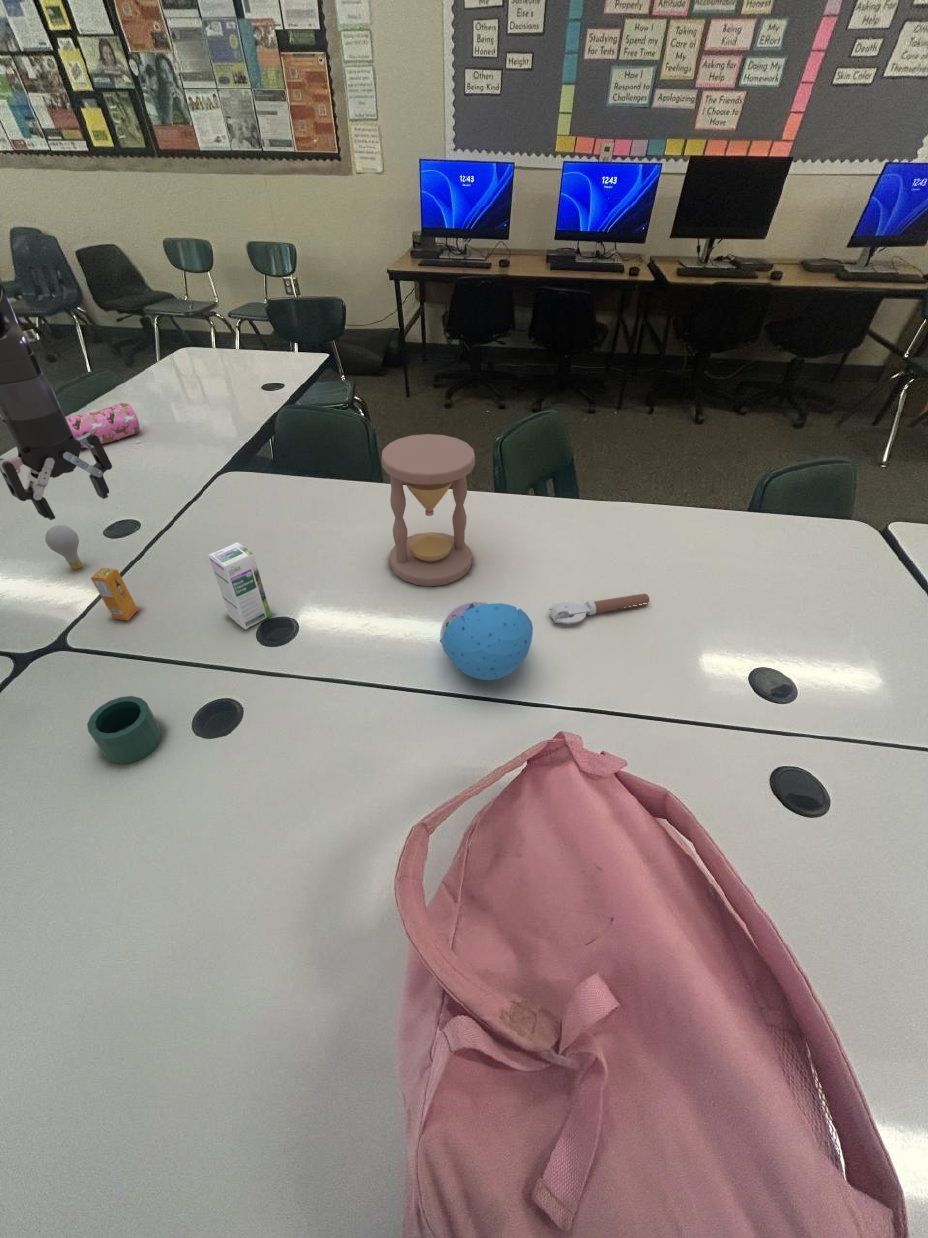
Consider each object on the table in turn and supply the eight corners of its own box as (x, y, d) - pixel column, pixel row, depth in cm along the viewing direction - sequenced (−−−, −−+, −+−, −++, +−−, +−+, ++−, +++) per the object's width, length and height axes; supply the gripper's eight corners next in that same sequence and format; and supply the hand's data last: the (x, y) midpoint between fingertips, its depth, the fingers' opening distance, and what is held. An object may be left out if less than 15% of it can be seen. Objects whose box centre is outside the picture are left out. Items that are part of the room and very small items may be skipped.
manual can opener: (633, 590, 115) (636, 578, 113) (650, 607, 111) (654, 595, 109) (544, 612, 109) (545, 600, 107) (559, 632, 105) (561, 620, 103)
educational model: (512, 621, 107) (518, 556, 97) (539, 695, 93) (549, 628, 83) (431, 630, 105) (429, 564, 95) (445, 707, 91) (445, 639, 81)
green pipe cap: (122, 773, 81) (105, 748, 77) (94, 746, 84) (76, 720, 80) (171, 738, 85) (158, 712, 81) (143, 713, 89) (129, 688, 85)
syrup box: (245, 631, 104) (224, 566, 94) (228, 616, 107) (206, 553, 97) (271, 616, 107) (254, 553, 98) (254, 602, 110) (236, 540, 101)
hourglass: (395, 591, 114) (385, 477, 97) (386, 544, 126) (376, 436, 110) (479, 581, 116) (484, 469, 100) (462, 536, 129) (464, 430, 113)
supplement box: (123, 608, 108) (102, 565, 102) (139, 610, 108) (119, 568, 101) (111, 619, 106) (89, 576, 99) (127, 622, 105) (106, 579, 99)
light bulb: (57, 570, 117) (34, 529, 110) (83, 558, 120) (62, 517, 114) (71, 579, 115) (48, 537, 108) (97, 566, 118) (77, 525, 112)
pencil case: (133, 426, 174) (122, 397, 168) (146, 435, 169) (135, 405, 163) (57, 447, 162) (43, 416, 156) (69, 457, 157) (55, 426, 151)
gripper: (66, 389, 87) (108, 484, 98) (-38, 416, 79) (20, 517, 89) (91, 400, 84) (131, 497, 95) (-14, 429, 75) (43, 533, 86)
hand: (77, 507), depth 92 cm, fingers open, 8 cm apart
